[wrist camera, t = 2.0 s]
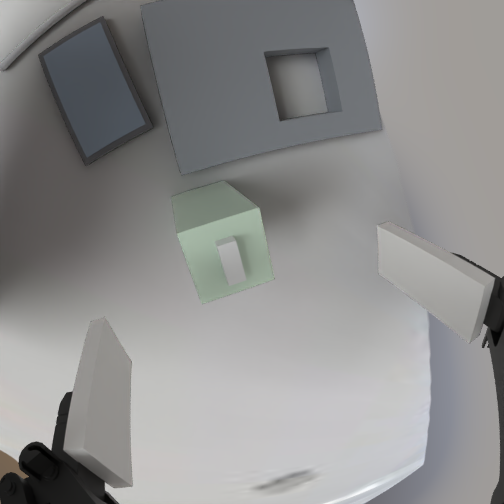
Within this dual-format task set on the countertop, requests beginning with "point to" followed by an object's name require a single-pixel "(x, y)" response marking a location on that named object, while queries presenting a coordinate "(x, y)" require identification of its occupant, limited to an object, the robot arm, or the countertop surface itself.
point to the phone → (94, 91)
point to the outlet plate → (254, 74)
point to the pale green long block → (221, 240)
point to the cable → (39, 32)
